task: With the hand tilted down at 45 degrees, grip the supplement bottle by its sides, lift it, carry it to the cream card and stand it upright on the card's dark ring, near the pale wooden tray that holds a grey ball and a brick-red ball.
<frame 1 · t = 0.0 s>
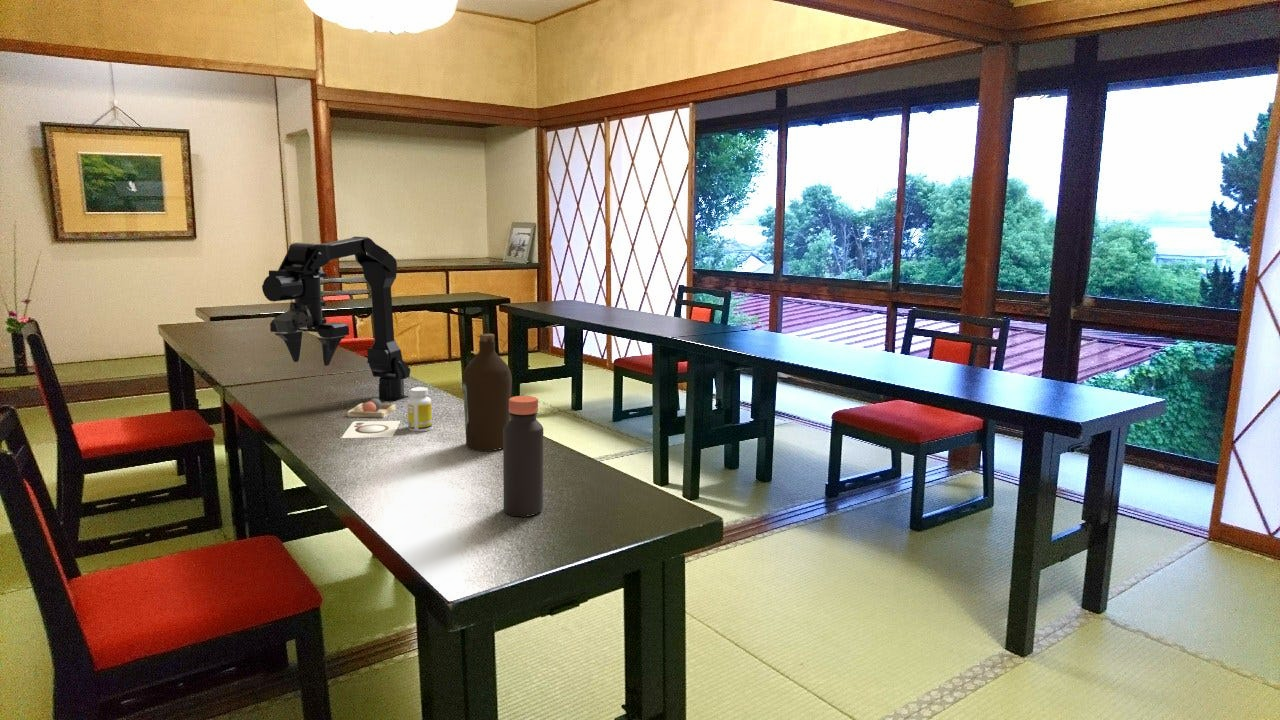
hand: (311, 363, 178), 15 cm above the table, tool pointing down, fingers open, 9 cm apart
masu tray: (372, 414, 191), on the table
grey ball: (375, 410, 192), resting on masu tray
supplement bottle: (420, 430, 179), on the table
target card: (372, 430, 176), on the table
brown rum bottle: (487, 446, 168), on the table
vinegar: (523, 511, 131), on the table
red ball: (369, 414, 189), resting on masu tray
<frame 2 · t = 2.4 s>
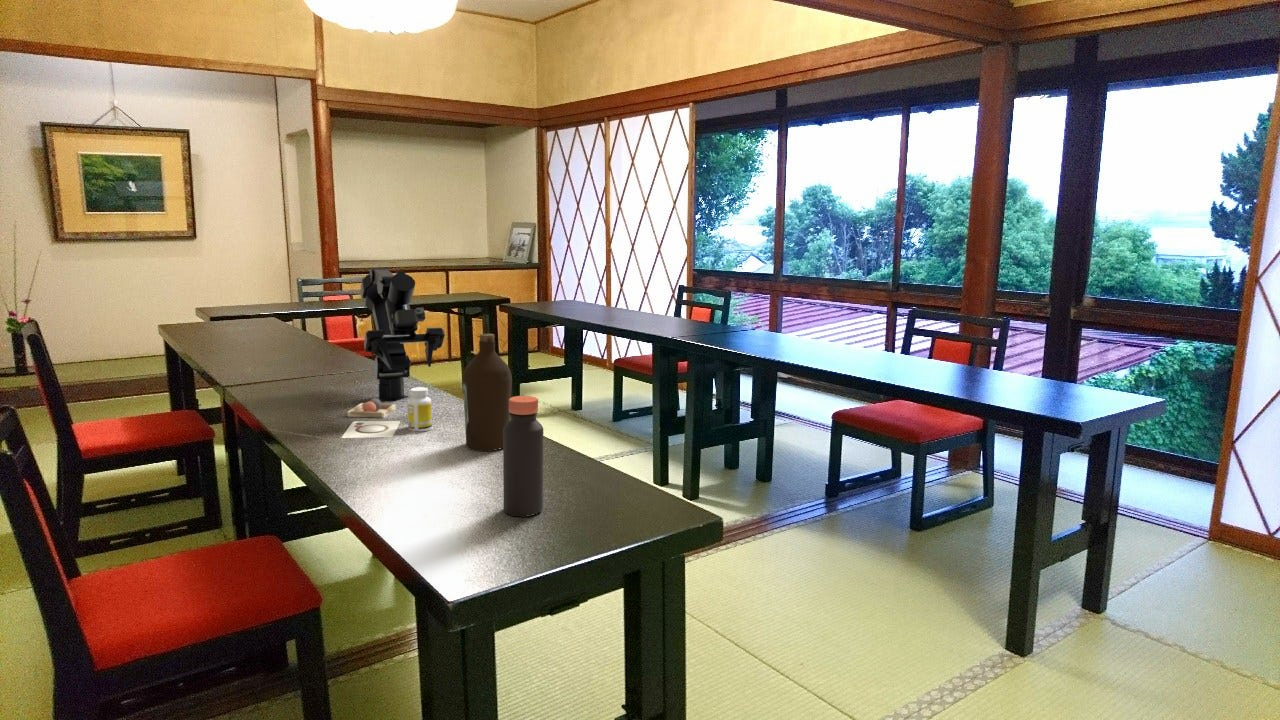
hand: (410, 367, 183), 13 cm above the table, tool tilted 45°, fingers open, 9 cm apart
nothing on the table moved.
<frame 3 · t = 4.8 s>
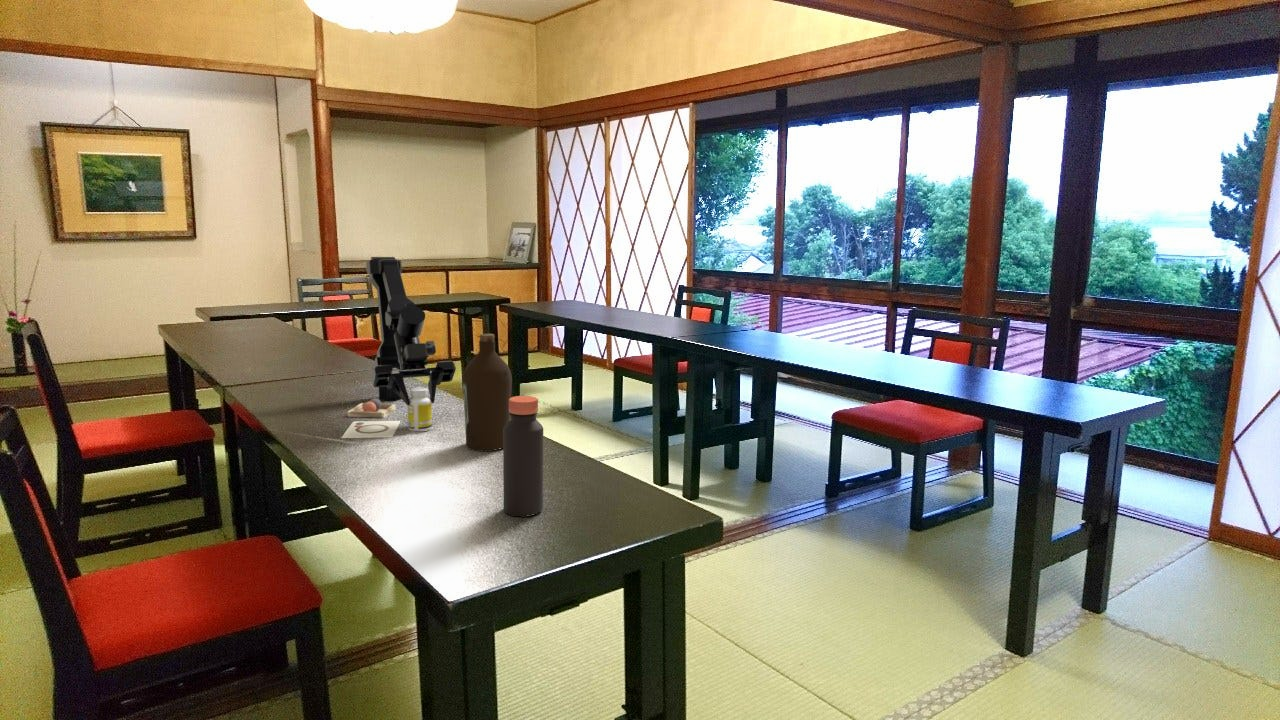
hand: (420, 403, 176), 7 cm above the table, tool tilted 45°, fingers closed on supplement bottle, 5 cm apart
supplement bottle: (420, 430, 179), on the table, touching gripper
everything else where it was.
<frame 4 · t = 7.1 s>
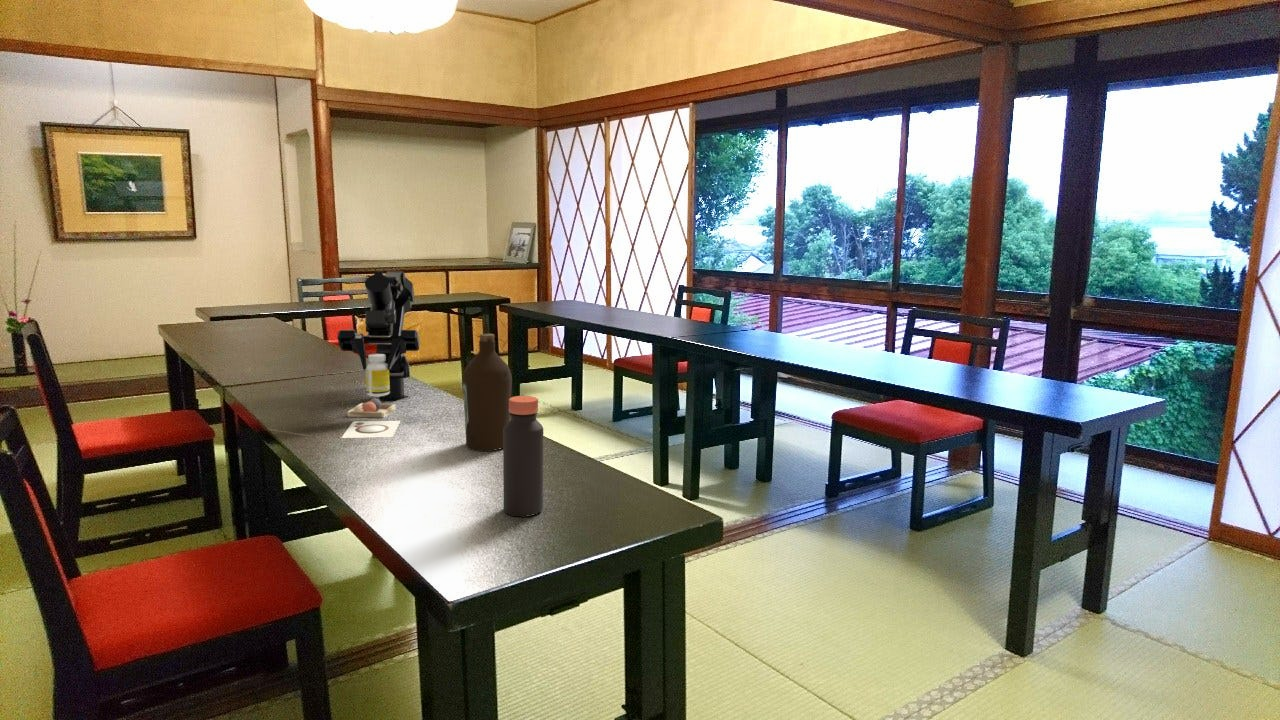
hand: (376, 368, 181), 13 cm above the table, tool tilted 45°, fingers closed on supplement bottle, 5 cm apart
supplement bottle: (378, 395, 184), point 6 cm above the table, touching gripper
everything else where it was.
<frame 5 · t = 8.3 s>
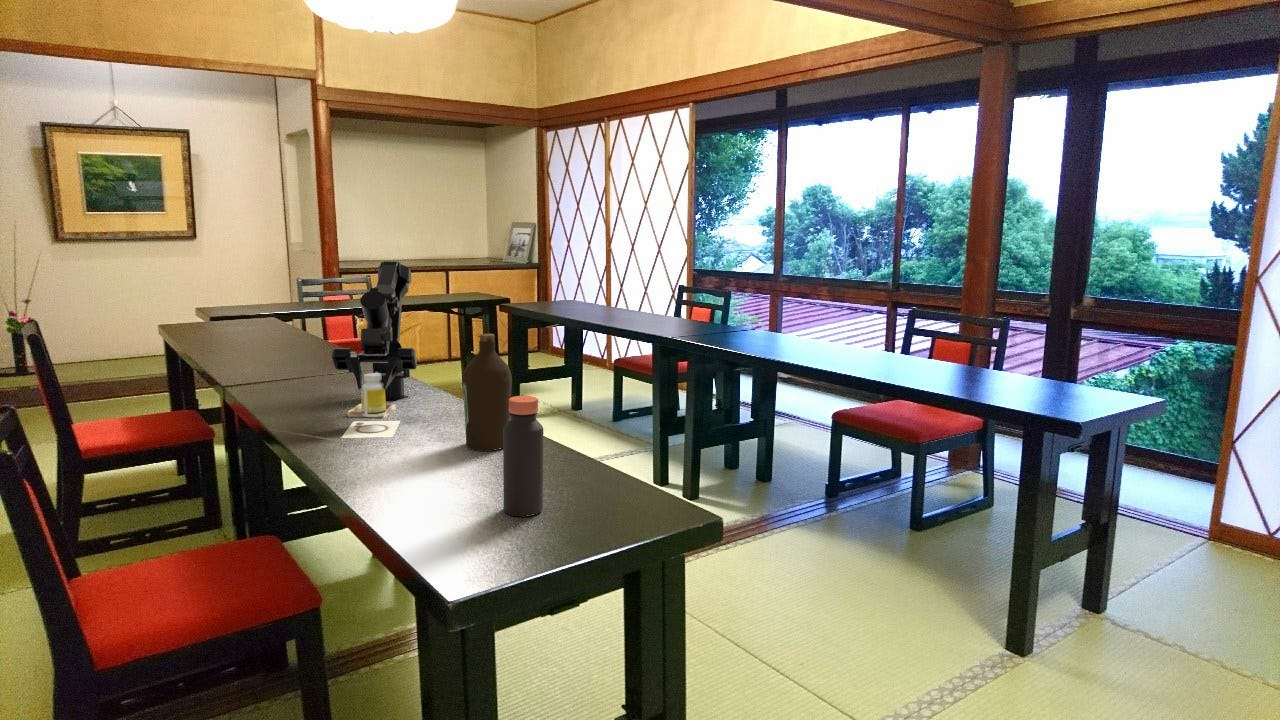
hand: (372, 388, 176), 10 cm above the table, tool tilted 45°, fingers closed on supplement bottle, 5 cm apart
supplement bottle: (374, 415, 178), point 3 cm above the table, touching gripper
everything else where it was.
when the fingers open (8 cm above the table, at t = 9.4 s): supplement bottle stays where it is, resting on target card.
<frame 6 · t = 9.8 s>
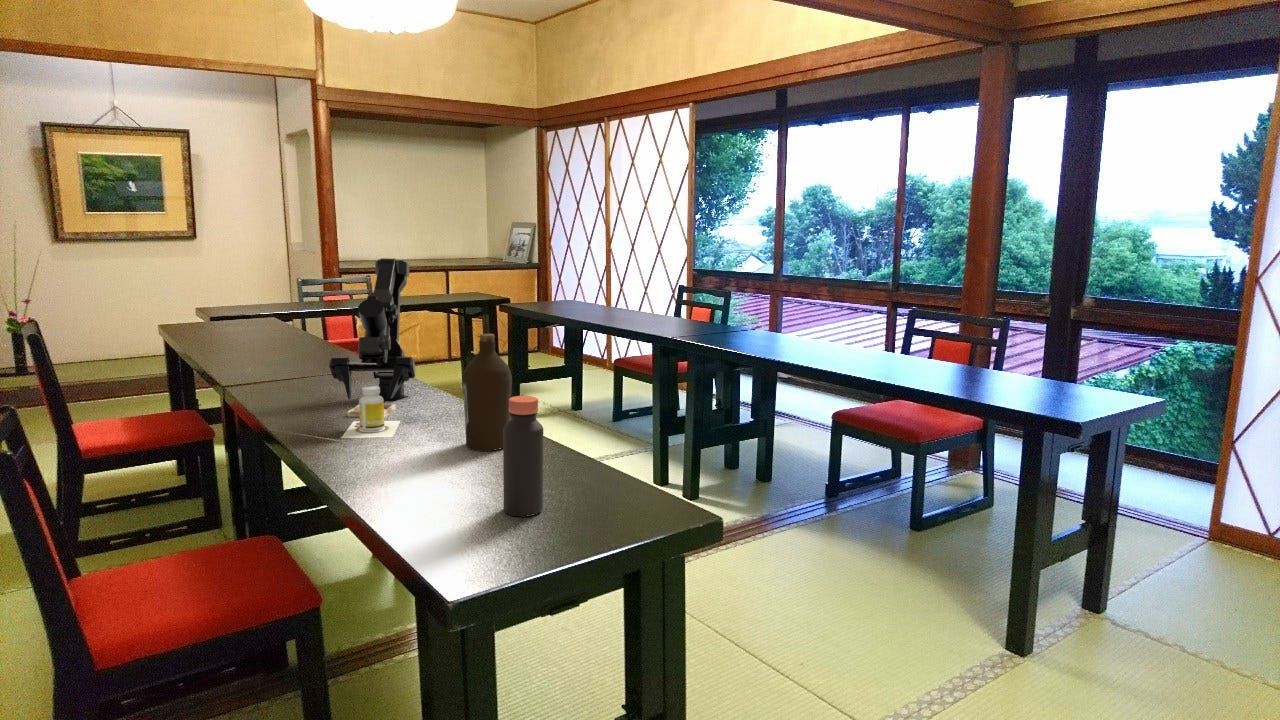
hand: (369, 398, 173), 8 cm above the table, tool tilted 45°, fingers open, 9 cm apart
supplement bottle: (372, 429, 176), resting on target card
everything else where it was.
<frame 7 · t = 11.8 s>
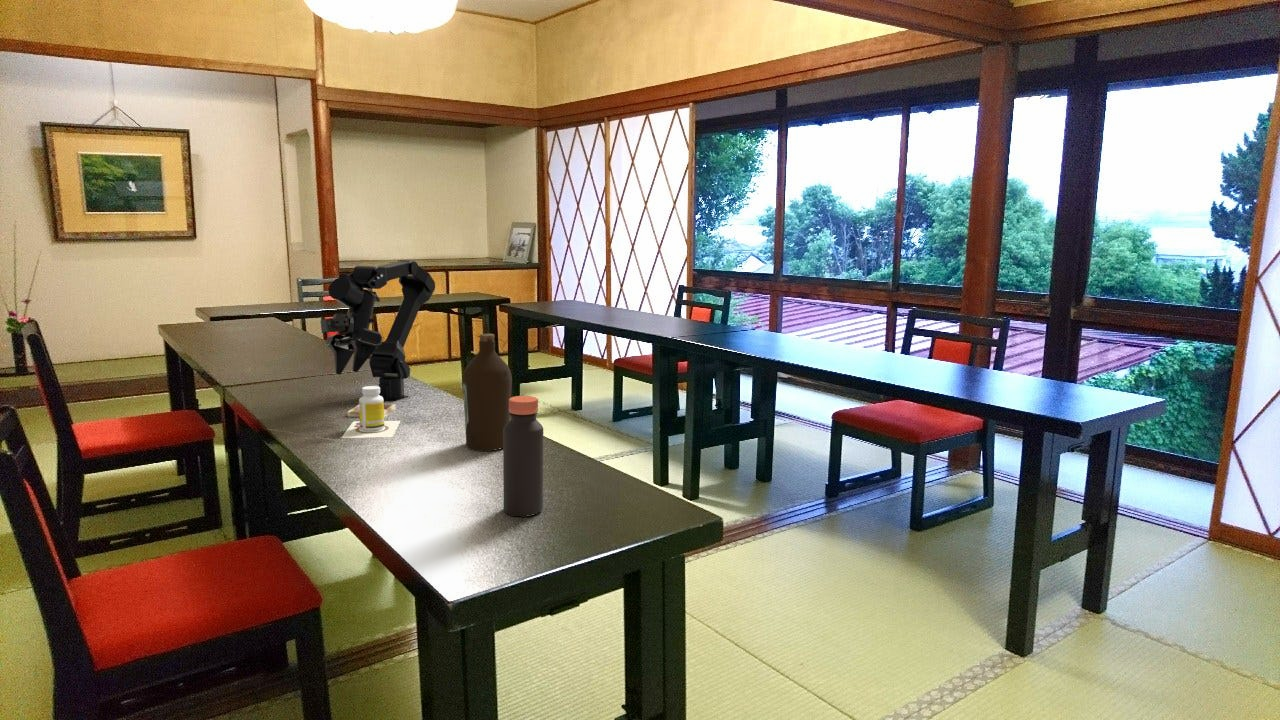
hand: (346, 373, 185), 11 cm above the table, tool tilted 25°, fingers open, 9 cm apart
nothing on the table moved.
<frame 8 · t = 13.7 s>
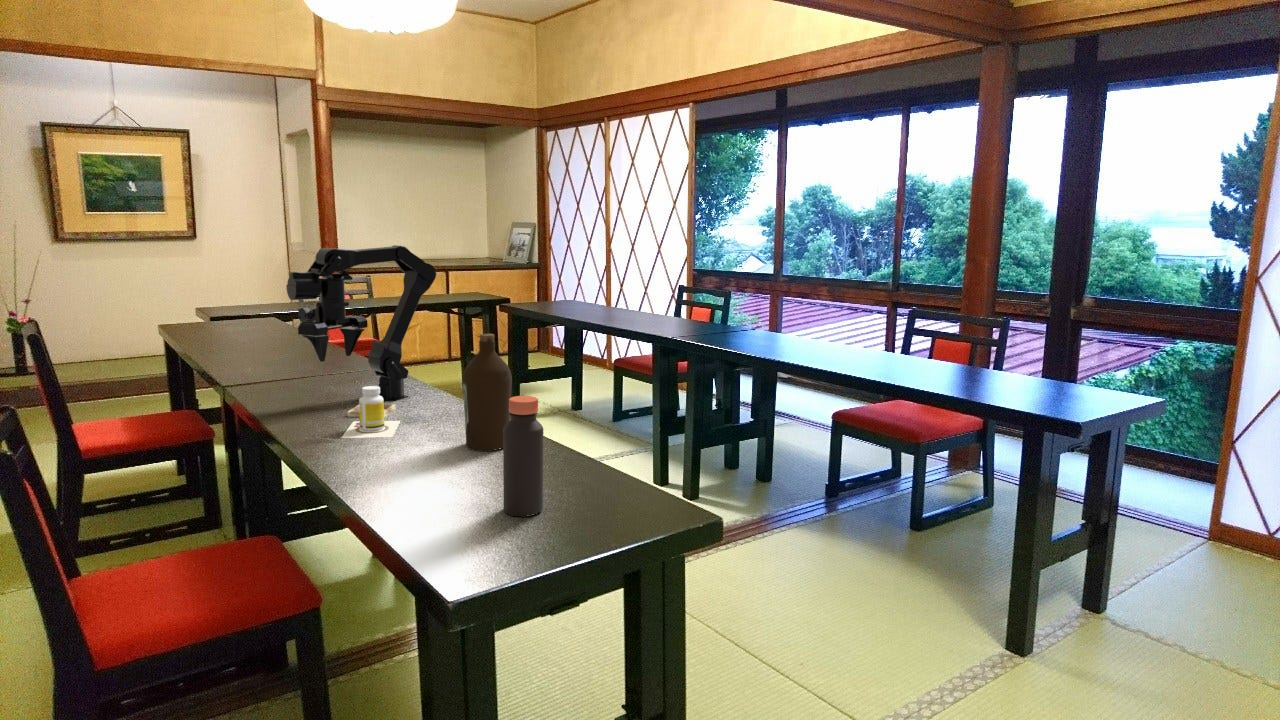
hand: (335, 358, 193), 13 cm above the table, tool pointing down, fingers open, 9 cm apart
nothing on the table moved.
at the end: supplement bottle 0.2 cm from the target card (horizontally); supplement bottle tilted 0°; supplement bottle resting on target card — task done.
